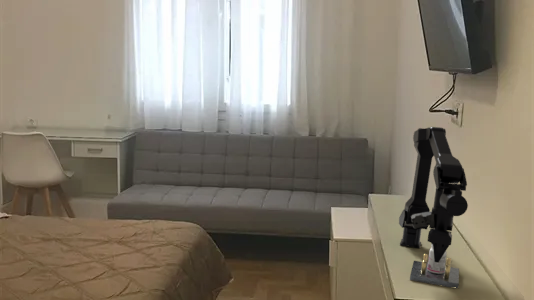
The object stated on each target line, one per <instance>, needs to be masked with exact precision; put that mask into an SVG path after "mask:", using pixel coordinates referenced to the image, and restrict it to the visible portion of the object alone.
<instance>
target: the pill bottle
mask: <svg viewBox="0 0 534 300" xmlns="http://www.w3.org/2000/svg"><path fill="white" fill-rule="evenodd" d="M428 253H429V254H428V258H427V263H428V267H427V270H428V271H429V272H432V273H436V274H442V273H444V270H445V266H446V260H447V255H448V254H447V253H448V251H447V250H446V251H445V253H444V254H443V256H442V258H441V259H440V261H439V262H435V261H434V249H433V244H432V243H431V247H430V248H429V252H428Z"/></svg>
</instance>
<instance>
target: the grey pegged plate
mask: <svg viewBox="0 0 534 300" xmlns="http://www.w3.org/2000/svg"><path fill="white" fill-rule="evenodd" d="M428 259H429V254H428V253H424V254H423V258H422V261H418V260H413V262H412V263H413V264H412V267H411V271H410V276H409V280H410V281H414V282H421V283H426V284H430V285H435V284H436V286H440V285H442V286H441V287H446V288H451V287H456V288H458V289H459V284H460V282H459V281H460V279H459V278H460V268H459V267H452V266H451V263H452V258H450V257H446V262H445V270H444V273H442V274H436V273H432V272H429V271H428V270H427V267H428ZM456 288H455V289H456Z"/></svg>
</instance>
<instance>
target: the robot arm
mask: <svg viewBox="0 0 534 300" xmlns="http://www.w3.org/2000/svg"><path fill="white" fill-rule="evenodd" d="M446 135H447V131H446V128H443V127H438V126H437V127H436V126H428V127H427V128H423V127H422V128H421V127H418V128H417V130H415V131H414V132H413V137H412V139H413V143H414V144H413V146H414V149H415V151H416V154H417V157H416V158H417V159H416V162H415V163H416V164H415V171H414V177H413V178H414V179H413V184H412V190H411V196H410V198H409V199H408V200H407V201H406V202H405V204H404V209H403V210H402V211H401V214H400V215H399V218H398V224H399V226H400V227H401V228H403V230H402V232H403V233H402V238H401V239H400V243H399V246H404V247H409V248H415V249H421V244H422V242H421V235H422V234H421V233H422V230H428V227H429V231H428V236H427V242H429V243H431V245H432V244H433V249H434V261H435V262H439V261H440V259H441V258H442V256H443V254H444V253H445V251H446V252H447V250H448V248H449V247H450V246H451V245H452V240H453V235H452V231H453V225H454V217H460V216H462V215H465V213H466V212H467V210H468V207H469V204H468V200H467V199H466V198H465V197H464V196H463V191H464V192H467V191H466V190H467V186H468V183H467V177H466V172H465V169H464V167H463V165H462V163H461V162H460V160H459V158H456V157H454V155H453V154H452V151H451V148H450V145H449V142H448V139H447V136H446ZM433 157H434V160H435V165H434V167H433V171H432V172H433V179H434V184H435V192H434V200H433V206H432V208H431V209H430V207H429V206H428V202H427V195H428V188H429V183H430V181H429V180H430V174H431V168H432V162H433ZM430 210H431V211H430Z"/></svg>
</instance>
